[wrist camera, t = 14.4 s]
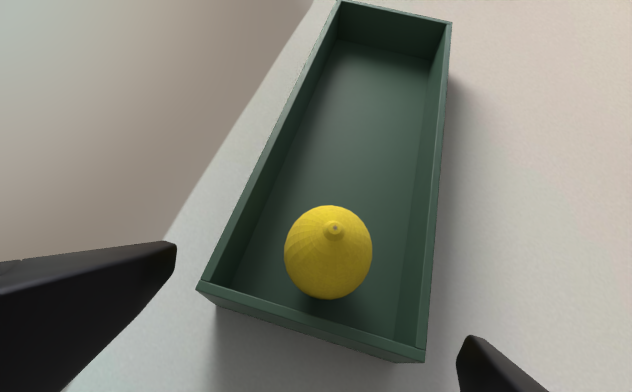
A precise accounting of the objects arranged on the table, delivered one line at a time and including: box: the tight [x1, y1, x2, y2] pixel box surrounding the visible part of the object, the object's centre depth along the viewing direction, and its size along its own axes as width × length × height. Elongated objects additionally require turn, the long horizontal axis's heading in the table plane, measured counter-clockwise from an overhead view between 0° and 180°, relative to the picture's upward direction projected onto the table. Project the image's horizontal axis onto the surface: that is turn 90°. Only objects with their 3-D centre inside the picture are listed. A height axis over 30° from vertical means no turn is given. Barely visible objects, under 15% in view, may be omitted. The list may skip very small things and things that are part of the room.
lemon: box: [284, 205, 372, 300], centre depth 19 cm, size 6×6×8 cm
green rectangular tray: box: [195, 0, 452, 363], centre depth 27 cm, size 34×13×5 cm, turn 164°
